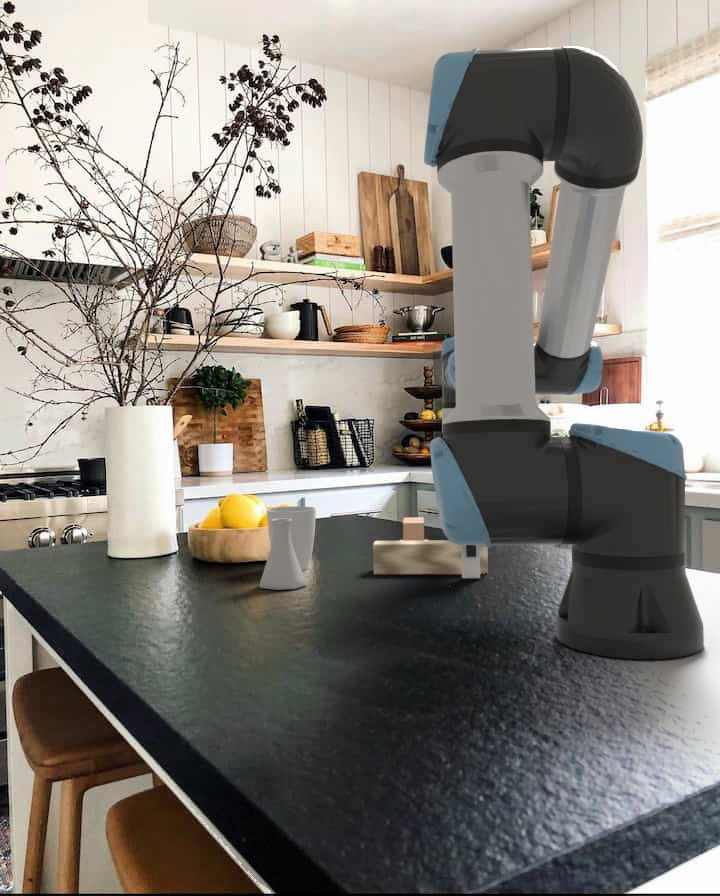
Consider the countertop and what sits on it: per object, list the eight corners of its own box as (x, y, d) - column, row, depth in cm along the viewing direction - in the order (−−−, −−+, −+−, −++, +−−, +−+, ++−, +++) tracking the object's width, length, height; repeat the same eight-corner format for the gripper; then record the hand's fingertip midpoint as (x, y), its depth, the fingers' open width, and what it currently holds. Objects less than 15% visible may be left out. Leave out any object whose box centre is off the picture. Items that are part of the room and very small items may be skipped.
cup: (320, 564, 139) (319, 506, 139) (312, 573, 131) (311, 511, 131) (273, 564, 140) (272, 506, 140) (263, 573, 132) (261, 511, 132)
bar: (486, 570, 132) (486, 540, 132) (488, 575, 128) (487, 543, 128) (375, 571, 134) (375, 540, 134) (373, 575, 130) (373, 544, 130)
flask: (299, 592, 117) (298, 522, 117) (251, 591, 119) (250, 522, 119) (312, 582, 124) (311, 516, 124) (267, 581, 126) (265, 516, 126)
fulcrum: (429, 564, 138) (428, 522, 137) (399, 564, 138) (398, 523, 138) (428, 556, 146) (427, 517, 145) (400, 556, 146) (399, 517, 146)
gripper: (497, 436, 118) (499, 585, 118) (483, 433, 142) (485, 556, 143) (445, 437, 118) (447, 585, 119) (440, 434, 142) (442, 557, 143)
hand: (468, 570), depth 131 cm, fingers open, 12 cm apart
